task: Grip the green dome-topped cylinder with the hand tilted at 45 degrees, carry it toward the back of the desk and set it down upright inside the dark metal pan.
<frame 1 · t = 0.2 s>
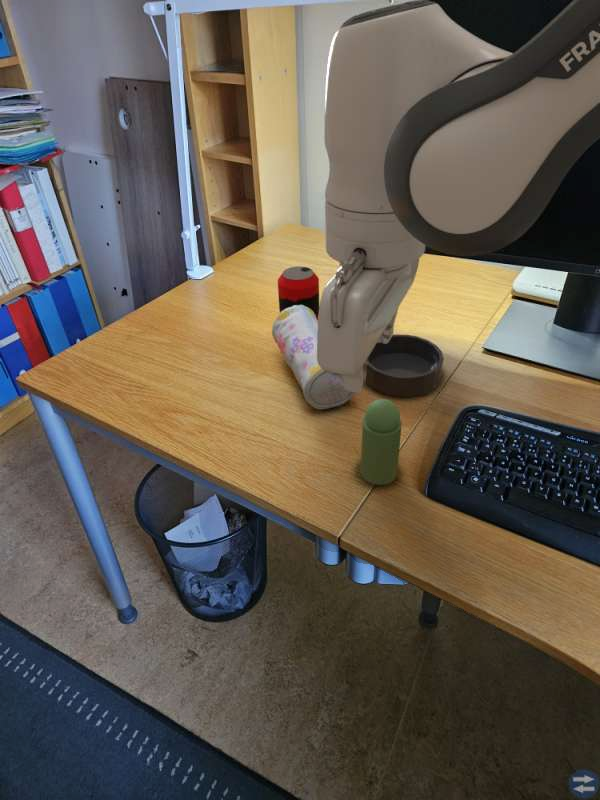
hand: (369, 362, 57), 23 cm above the table, tool pointing down, fingers open, 8 cm apart
green dome-topped cylinder: (378, 472, 77), on the table
pencil case: (312, 378, 96), on the table
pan: (400, 374, 96), on the table
soda can: (300, 331, 109), on the table
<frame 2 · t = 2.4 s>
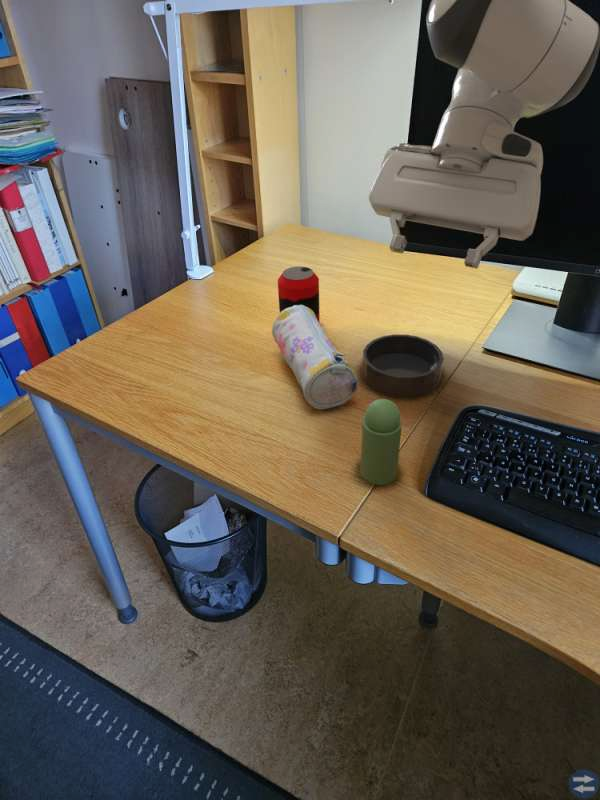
hand: (432, 258, 68), 27 cm above the table, tool tilted 45°, fingers open, 8 cm apart
nothing on the table moved.
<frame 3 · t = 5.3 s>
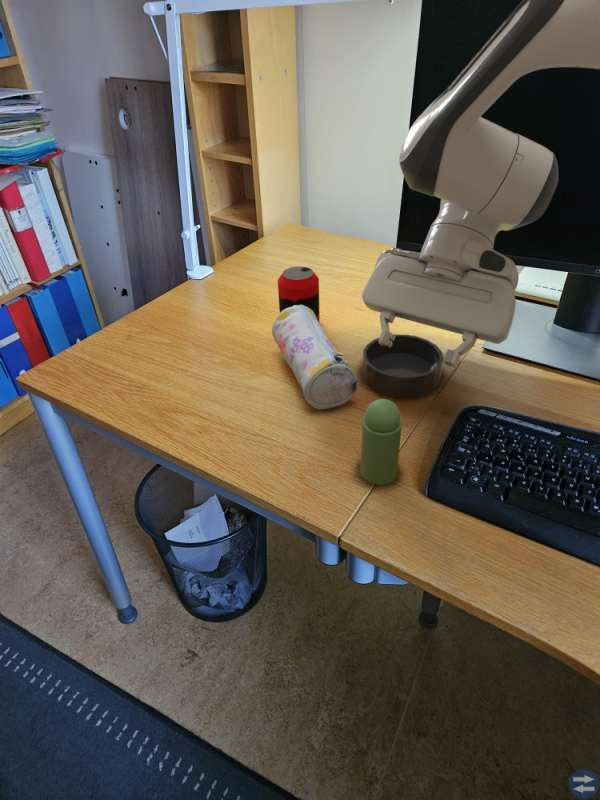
hand: (415, 355, 75), 14 cm above the table, tool tilted 45°, fingers open, 8 cm apart
nothing on the table moved.
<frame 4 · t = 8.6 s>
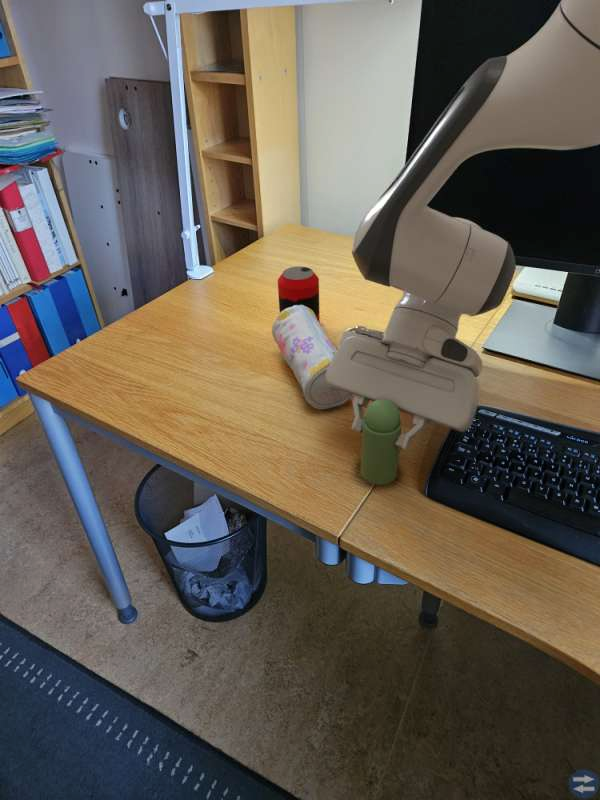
hand: (379, 440, 73), 6 cm above the table, tool tilted 45°, fingers closed on green dome-topped cylinder, 5 cm apart
green dome-topped cylinder: (378, 472, 77), on the table, touching gripper
everything else where it was.
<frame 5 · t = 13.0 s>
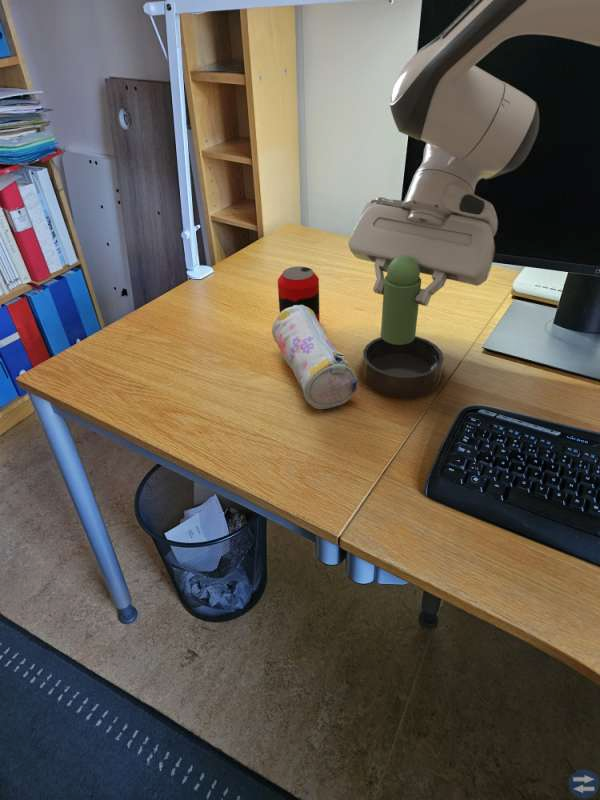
hand: (399, 298, 78), 19 cm above the table, tool tilted 45°, fingers closed on green dome-topped cylinder, 5 cm apart
green dome-topped cylinder: (397, 335, 82), point 12 cm above the table, touching gripper
everything else where it was.
when the fingers open (7 cm above the table, at t = 17.7 s): green dome-topped cylinder stays where it is, resting on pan.
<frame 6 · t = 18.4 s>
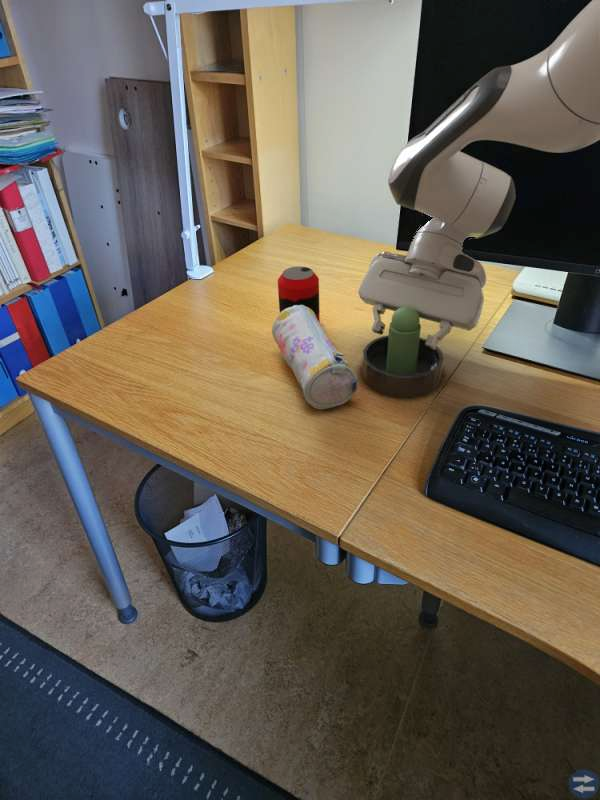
hand: (402, 340, 91), 7 cm above the table, tool tilted 45°, fingers open, 8 cm apart
green dome-topped cylinder: (400, 371, 95), resting on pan
everything else where it was.
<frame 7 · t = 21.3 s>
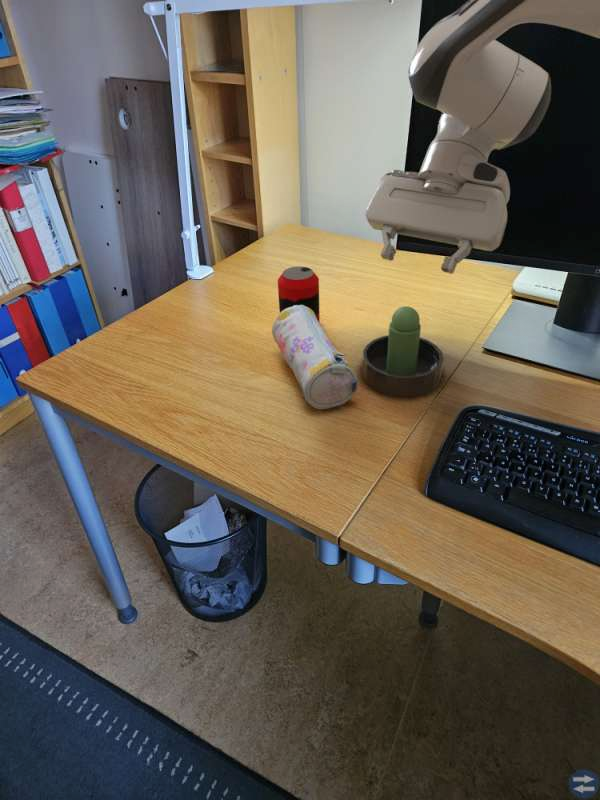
hand: (415, 264, 81), 21 cm above the table, tool tilted 45°, fingers open, 8 cm apart
nothing on the table moved.
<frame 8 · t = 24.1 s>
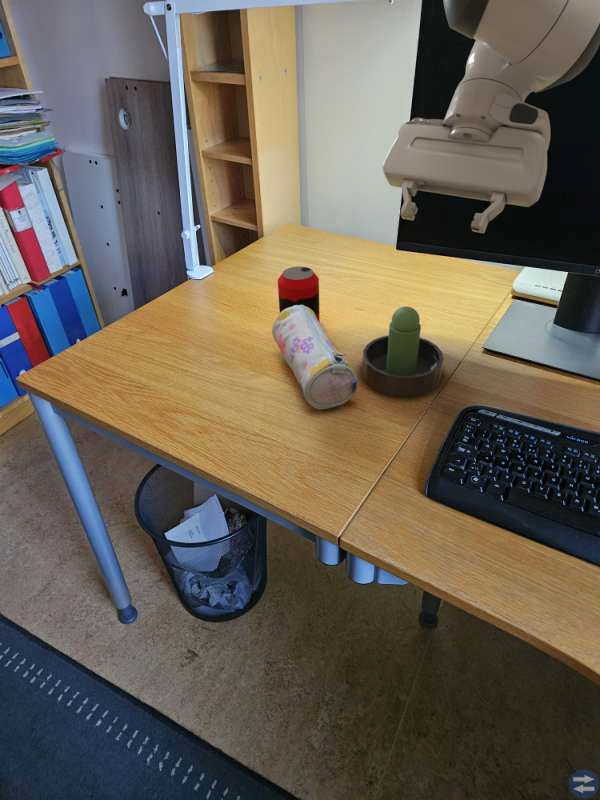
hand: (440, 223, 71), 29 cm above the table, tool tilted 45°, fingers open, 8 cm apart
nothing on the table moved.
at the end: green dome-topped cylinder inside the target area in the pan (0.0 cm from its centre), point 0.5 cm above the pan's base; green dome-topped cylinder tilted 0°; the gripper is holding nothing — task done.
